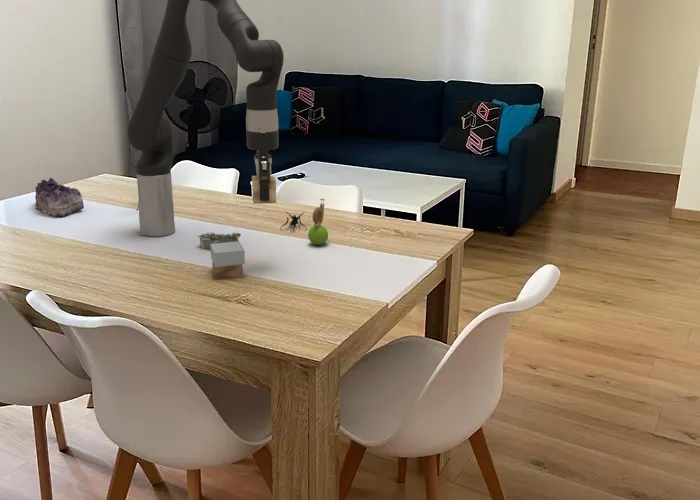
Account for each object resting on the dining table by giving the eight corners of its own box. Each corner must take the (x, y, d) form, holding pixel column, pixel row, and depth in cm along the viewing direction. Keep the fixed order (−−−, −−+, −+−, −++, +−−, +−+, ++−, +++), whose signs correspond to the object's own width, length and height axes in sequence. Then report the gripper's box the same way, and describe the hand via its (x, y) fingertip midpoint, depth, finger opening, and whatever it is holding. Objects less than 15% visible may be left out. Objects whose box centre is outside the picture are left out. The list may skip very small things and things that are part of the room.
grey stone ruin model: (243, 247, 195) (243, 233, 194) (225, 255, 189) (224, 240, 188) (214, 240, 200) (213, 226, 199) (195, 247, 194) (195, 233, 193)
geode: (21, 208, 229) (20, 176, 227) (56, 206, 237) (56, 175, 235) (52, 218, 216) (52, 185, 214) (88, 215, 224) (88, 183, 222)
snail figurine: (332, 241, 199) (332, 199, 196) (323, 248, 194) (323, 205, 190) (313, 239, 201) (313, 197, 197) (305, 246, 195) (304, 203, 191)
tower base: (213, 280, 172) (212, 266, 170) (213, 270, 178) (212, 257, 177) (242, 279, 173) (242, 265, 172) (242, 269, 179) (241, 255, 178)
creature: (305, 237, 207) (308, 223, 214) (305, 220, 204) (308, 207, 211) (278, 236, 207) (282, 222, 214) (277, 220, 205) (282, 207, 211)
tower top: (215, 267, 170) (214, 253, 169) (211, 257, 177) (210, 244, 175) (244, 264, 172) (244, 250, 171) (239, 254, 179) (239, 241, 178)
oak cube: (253, 203, 174) (252, 181, 172) (252, 197, 179) (251, 176, 177) (276, 203, 174) (275, 180, 173) (274, 197, 180) (274, 175, 178)
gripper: (245, 123, 177) (247, 190, 182) (247, 133, 163) (249, 206, 169) (276, 122, 178) (277, 189, 184) (280, 133, 165) (281, 205, 170)
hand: (264, 197), depth 176 cm, fingers closed on oak cube, 5 cm apart
